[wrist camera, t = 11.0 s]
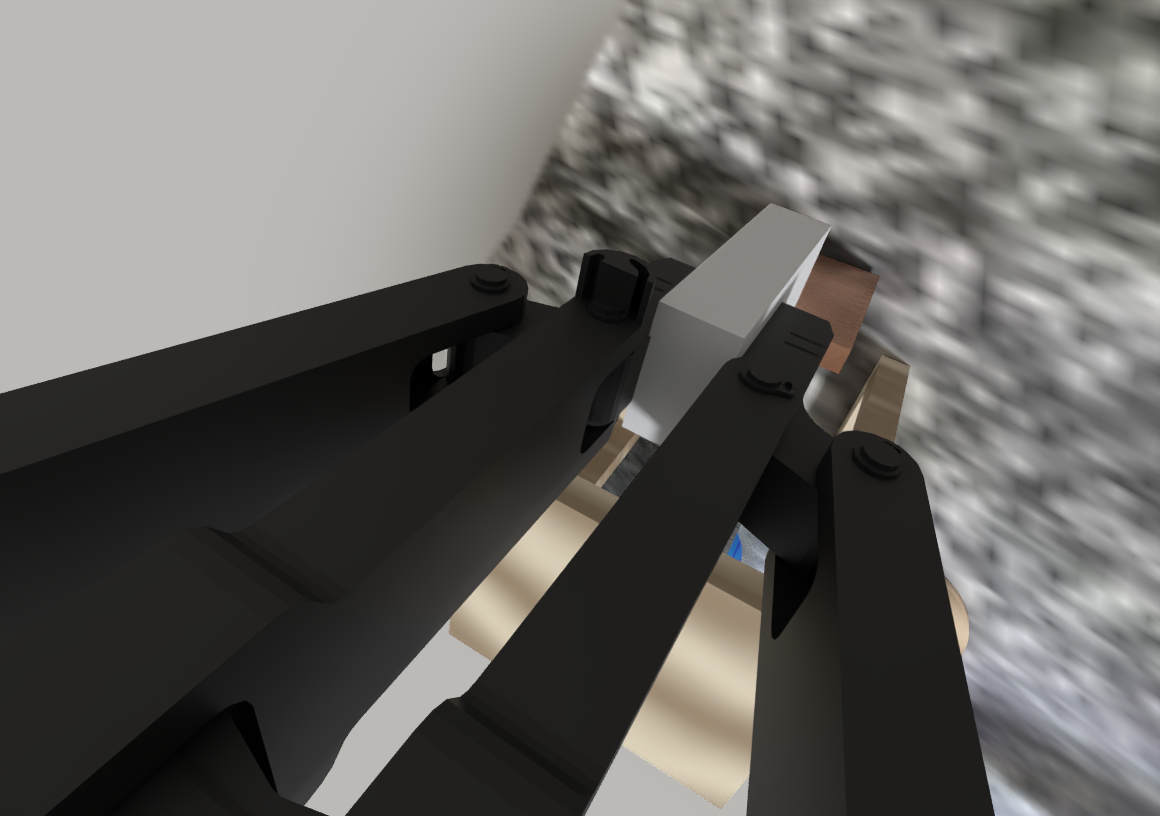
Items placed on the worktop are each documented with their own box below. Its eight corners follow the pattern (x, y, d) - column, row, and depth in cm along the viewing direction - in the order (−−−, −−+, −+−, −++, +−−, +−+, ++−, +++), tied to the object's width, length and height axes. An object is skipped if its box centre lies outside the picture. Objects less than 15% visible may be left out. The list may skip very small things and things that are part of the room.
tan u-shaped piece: (748, 227, 34) (691, 284, 28) (879, 276, 32) (851, 350, 26) (660, 467, 45) (605, 548, 39) (753, 514, 43) (712, 607, 37)
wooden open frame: (671, 269, 38) (467, 451, 23) (910, 366, 34) (847, 659, 19) (625, 422, 45) (448, 633, 30) (816, 515, 41) (720, 809, 27)
